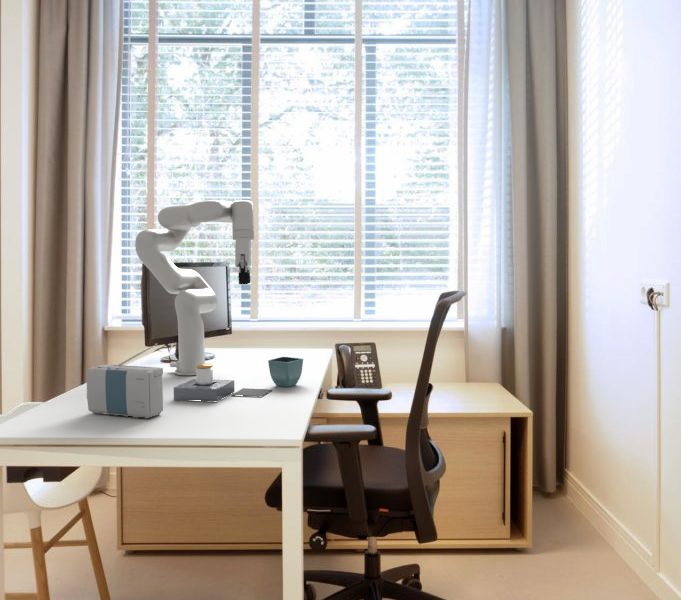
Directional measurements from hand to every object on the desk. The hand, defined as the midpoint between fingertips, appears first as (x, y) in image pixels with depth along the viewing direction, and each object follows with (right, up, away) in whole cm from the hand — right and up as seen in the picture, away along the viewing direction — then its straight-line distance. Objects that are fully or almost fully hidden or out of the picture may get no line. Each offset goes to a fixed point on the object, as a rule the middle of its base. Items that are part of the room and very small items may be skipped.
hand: (244, 283), depth 223 cm
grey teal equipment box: (-25, -38, -49) cm, 67 cm away
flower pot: (+16, -35, -11) cm, 40 cm away
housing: (-8, -36, -27) cm, 46 cm away
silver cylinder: (-8, -36, -27) cm, 46 cm away
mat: (+6, -36, -23) cm, 43 cm away
